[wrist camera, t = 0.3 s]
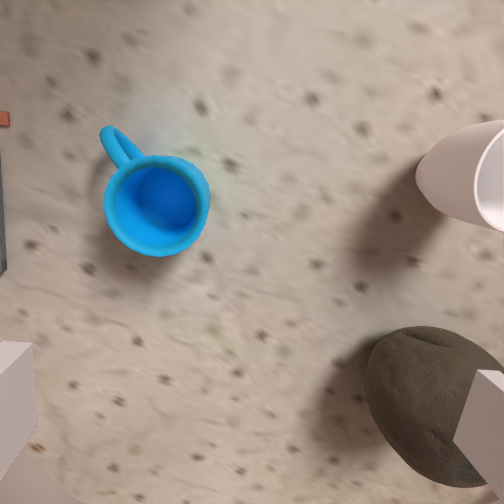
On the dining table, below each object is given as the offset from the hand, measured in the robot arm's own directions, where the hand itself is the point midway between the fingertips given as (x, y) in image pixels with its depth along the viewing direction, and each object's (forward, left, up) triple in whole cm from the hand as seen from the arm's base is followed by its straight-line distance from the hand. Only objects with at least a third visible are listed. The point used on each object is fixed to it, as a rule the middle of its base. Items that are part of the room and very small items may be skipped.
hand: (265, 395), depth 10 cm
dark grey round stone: (+15, +23, -27) cm, 39 cm away
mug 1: (-3, -8, -28) cm, 29 cm away
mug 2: (-9, +22, -27) cm, 36 cm away
